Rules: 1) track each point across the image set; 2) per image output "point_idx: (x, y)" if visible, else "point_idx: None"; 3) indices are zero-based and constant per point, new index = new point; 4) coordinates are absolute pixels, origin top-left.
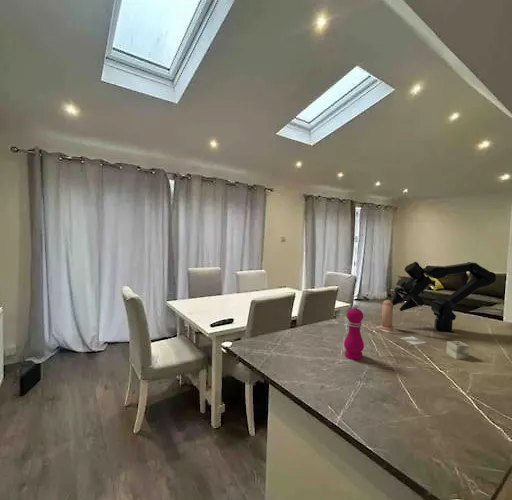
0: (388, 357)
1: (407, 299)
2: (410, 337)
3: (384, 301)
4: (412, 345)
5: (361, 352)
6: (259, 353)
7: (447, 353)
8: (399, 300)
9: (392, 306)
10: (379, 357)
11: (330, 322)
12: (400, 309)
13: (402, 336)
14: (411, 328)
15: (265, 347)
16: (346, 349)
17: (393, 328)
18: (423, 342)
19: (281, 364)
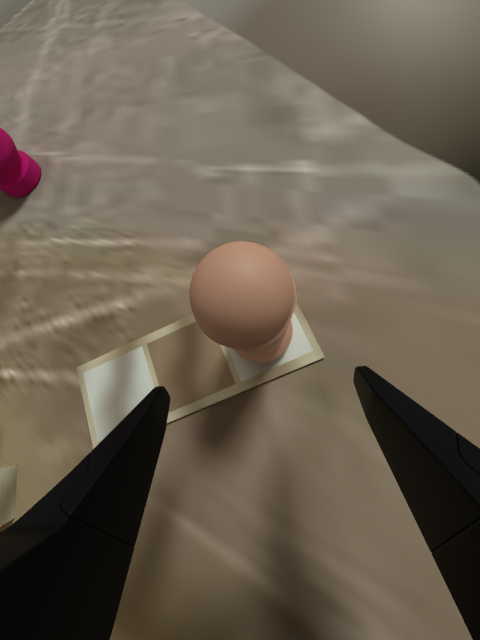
0: (10, 261)
1: (1, 551)
2: None
3: (233, 243)
4: (78, 368)
5: (1, 185)
6: (52, 11)
7: (10, 465)
8: (436, 534)
9: (209, 336)
10: (12, 238)
11: (319, 112)
12: (153, 393)
13: (160, 366)
14: (301, 479)
15: (80, 9)
16: (23, 152)
17: (246, 359)
18: (98, 428)
19: (5, 58)
